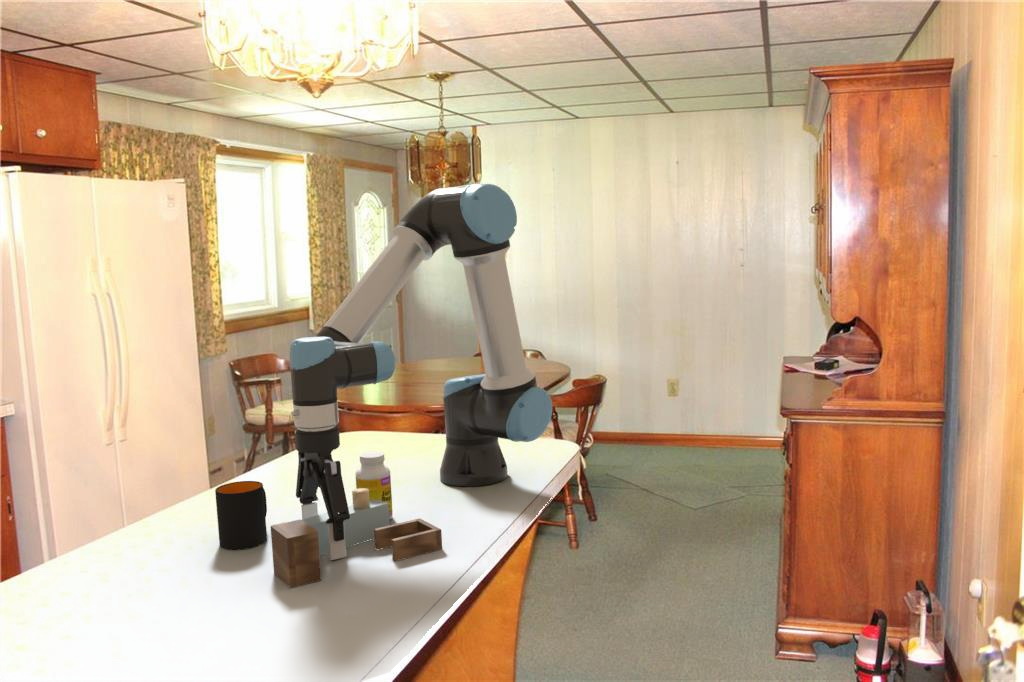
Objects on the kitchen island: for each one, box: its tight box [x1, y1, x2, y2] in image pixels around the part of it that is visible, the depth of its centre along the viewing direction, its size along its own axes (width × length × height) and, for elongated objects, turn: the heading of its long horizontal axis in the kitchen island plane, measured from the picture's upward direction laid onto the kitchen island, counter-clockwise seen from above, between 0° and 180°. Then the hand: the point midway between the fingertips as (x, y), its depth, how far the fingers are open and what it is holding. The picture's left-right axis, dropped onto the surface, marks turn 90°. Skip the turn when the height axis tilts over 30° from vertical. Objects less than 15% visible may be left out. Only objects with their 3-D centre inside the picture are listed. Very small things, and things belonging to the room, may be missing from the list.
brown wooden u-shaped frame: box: [373, 517, 443, 562], centre depth 152 cm, size 9×8×4 cm
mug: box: [214, 480, 268, 551], centre depth 160 cm, size 8×12×10 cm
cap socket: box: [270, 519, 322, 589], centre depth 141 cm, size 5×8×8 cm, turn 33°
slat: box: [301, 488, 391, 557], centre depth 155 cm, size 19×4×9 cm, turn 133°
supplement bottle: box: [355, 451, 393, 521], centre depth 169 cm, size 7×7×13 cm
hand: (324, 548), depth 154 cm, fingers open, 12 cm apart
